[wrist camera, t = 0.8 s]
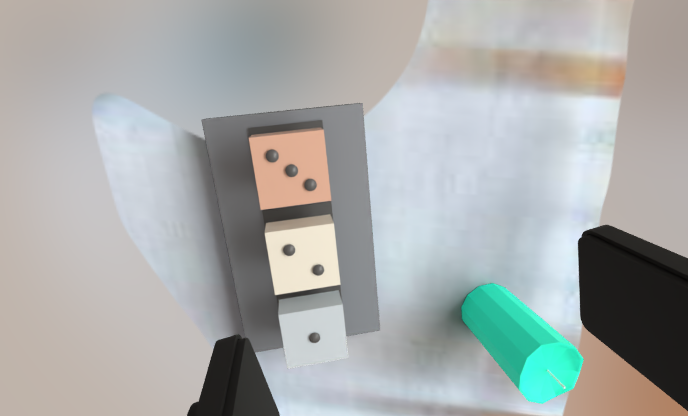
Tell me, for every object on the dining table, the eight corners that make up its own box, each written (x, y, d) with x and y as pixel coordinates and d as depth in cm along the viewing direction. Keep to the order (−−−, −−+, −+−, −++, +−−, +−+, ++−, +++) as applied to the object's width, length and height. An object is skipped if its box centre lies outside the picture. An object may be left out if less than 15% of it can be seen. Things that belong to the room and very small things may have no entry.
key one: (344, 340, 34) (348, 359, 31) (287, 350, 33) (287, 370, 31) (338, 290, 32) (342, 305, 30) (278, 299, 32) (278, 316, 29)
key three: (327, 192, 30) (331, 201, 27) (262, 201, 29) (260, 210, 27) (320, 127, 28) (323, 129, 26) (251, 134, 28) (248, 138, 25)
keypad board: (375, 319, 39) (380, 331, 37) (250, 340, 37) (248, 354, 35) (358, 103, 33) (363, 103, 31) (206, 118, 31) (200, 119, 29)
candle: (455, 331, 41) (521, 419, 30) (466, 282, 39) (540, 355, 28) (504, 332, 42) (586, 417, 31) (517, 284, 41) (608, 355, 29)
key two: (336, 271, 32) (340, 285, 29) (275, 280, 31) (274, 296, 29) (330, 214, 30) (334, 224, 28) (266, 222, 30) (264, 233, 27)
